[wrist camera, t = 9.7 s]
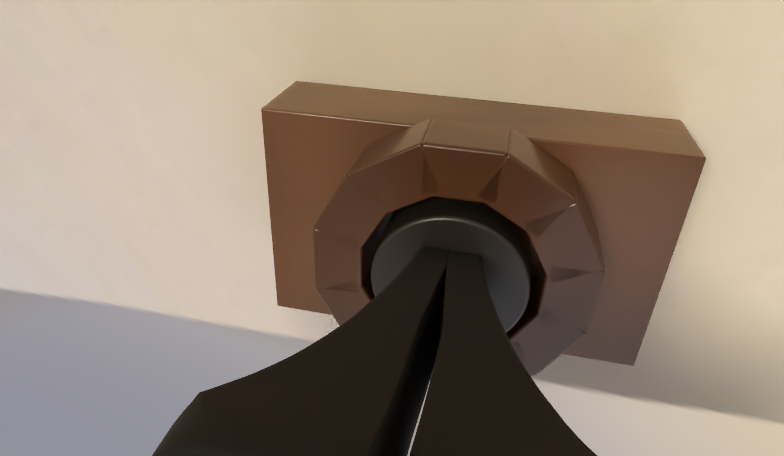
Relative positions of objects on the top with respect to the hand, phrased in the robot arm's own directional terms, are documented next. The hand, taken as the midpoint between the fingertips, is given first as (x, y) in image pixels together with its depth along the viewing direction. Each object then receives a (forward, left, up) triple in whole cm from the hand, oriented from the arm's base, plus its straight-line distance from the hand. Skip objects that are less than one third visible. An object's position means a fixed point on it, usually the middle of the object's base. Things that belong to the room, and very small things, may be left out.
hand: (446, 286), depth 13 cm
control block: (0, 0, -4) cm, 4 cm away
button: (0, 0, -2) cm, 2 cm away
